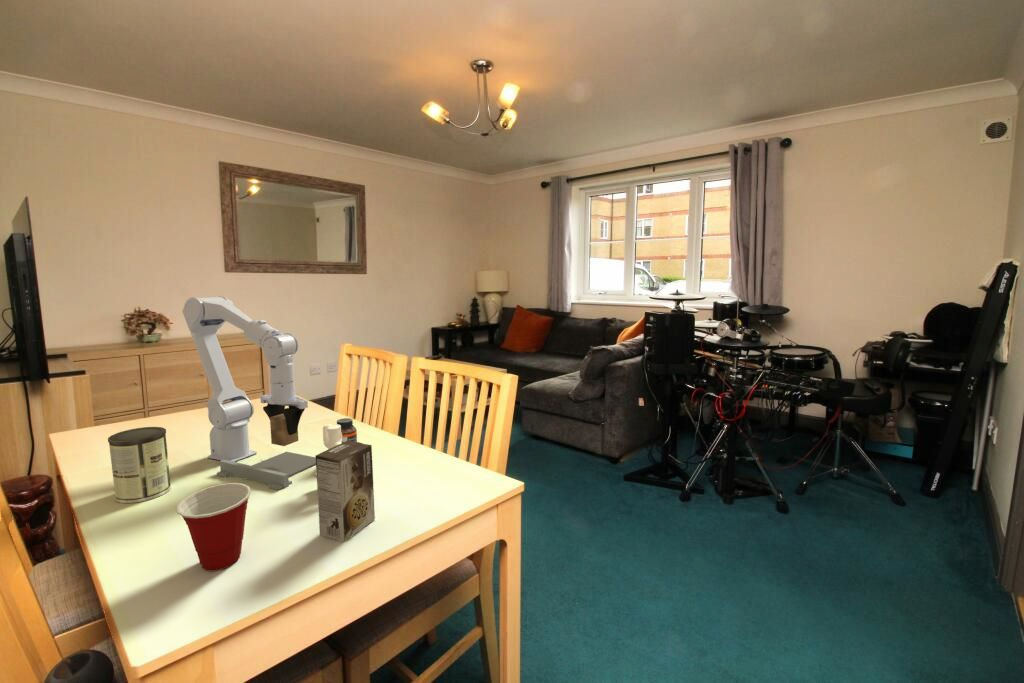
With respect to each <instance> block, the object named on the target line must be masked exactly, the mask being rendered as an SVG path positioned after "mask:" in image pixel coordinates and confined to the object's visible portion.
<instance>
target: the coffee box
mask: <svg viewBox="0 0 1024 683" xmlns="http://www.w3.org/2000/svg"><path fill="white" fill-rule="evenodd" d="M372 445H373V444H368V443H367V444H366V443H363V442H358V441H357V442H354V441H345V442H343V443H341V444H339V445H337V446H335V447H333V448H330V449H328V448H327V449H326V450H324V451H322V452H320V453H317V454H316V455H315V456H314V457H316V465H315V470H316V473H317V475H316V486H317V487H316V490H317V508H318V524H319V527H318V528H319V535H320V536H322V537H327V538H330V539H333V540H336V541H341V542H346V541H348V540H350V539H351V538H352V537H353V536H354V535H356V534H357V533H358V532H360V531H361V530H362V529H363V528H365V527H366V526H368V525H370V524H371V523H372V522H373V521H375V519H376V515H375V512H376V511H375V495H374V494H375V493H374V492H375V491H374V470H373V469H374V468H373V466H374V465H373V449H372ZM316 473H315V474H316Z"/></svg>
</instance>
